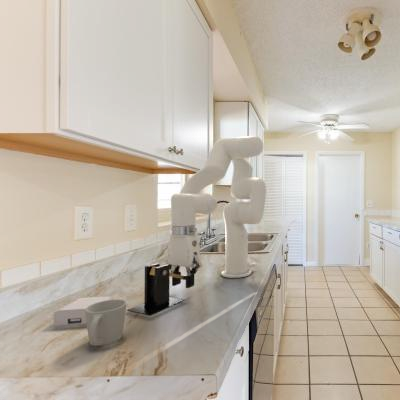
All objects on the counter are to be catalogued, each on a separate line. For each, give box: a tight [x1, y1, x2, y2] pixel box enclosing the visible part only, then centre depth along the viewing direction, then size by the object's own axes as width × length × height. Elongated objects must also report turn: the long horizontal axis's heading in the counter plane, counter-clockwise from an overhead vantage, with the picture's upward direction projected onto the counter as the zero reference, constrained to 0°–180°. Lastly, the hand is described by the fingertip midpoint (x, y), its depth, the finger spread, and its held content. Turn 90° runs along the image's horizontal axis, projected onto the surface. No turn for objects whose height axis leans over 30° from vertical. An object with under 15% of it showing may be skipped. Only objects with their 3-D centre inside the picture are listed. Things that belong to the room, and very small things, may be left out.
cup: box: [85, 298, 127, 347], centre depth 60 cm, size 8×10×8 cm
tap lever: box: [149, 266, 187, 281], centre depth 85 cm, size 13×5×2 cm, turn 158°
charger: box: [53, 295, 114, 327], centre depth 75 cm, size 5×9×15 cm
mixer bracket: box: [126, 262, 185, 317], centre depth 80 cm, size 12×9×13 cm
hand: (183, 285), depth 90 cm, fingers closed on tap lever, 5 cm apart
